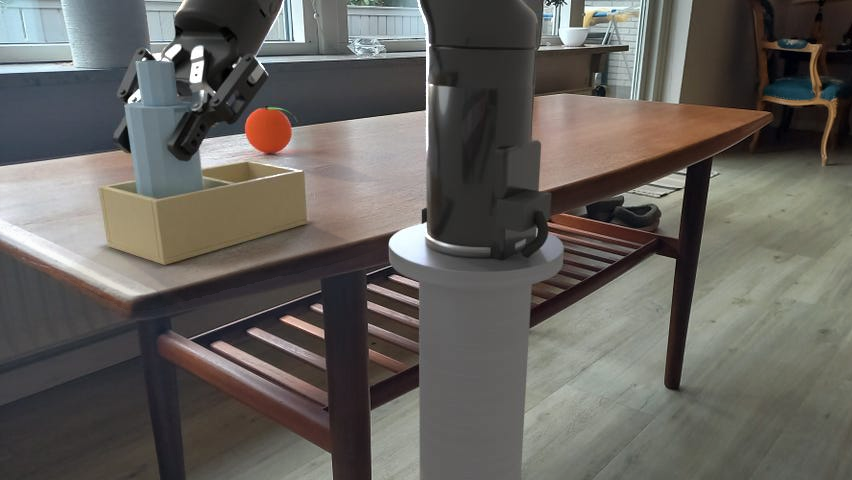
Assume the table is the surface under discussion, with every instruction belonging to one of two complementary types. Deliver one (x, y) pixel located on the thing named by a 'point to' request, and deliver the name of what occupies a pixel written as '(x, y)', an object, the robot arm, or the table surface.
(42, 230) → the table surface
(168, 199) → the holder
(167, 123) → the bottle
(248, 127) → the clementine
